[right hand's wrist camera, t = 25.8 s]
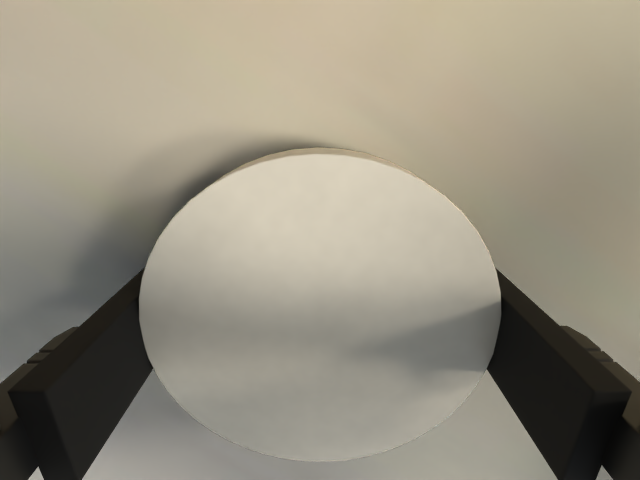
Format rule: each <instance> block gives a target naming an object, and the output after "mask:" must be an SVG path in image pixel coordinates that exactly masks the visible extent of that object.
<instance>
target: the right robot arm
mask: <svg viewBox="0 0 640 480" xmlns="http://www.w3.org/2000/svg"><path fill="white" fill-rule="evenodd" d="M495 269H496V268H495ZM144 270H145V268H144V269H143V270H142V271H140V272H139V273H138V274H137V275H136V276H135V277H134V278H133V279H132V280H130V281H129V282H128V283H127V284H126V285H125V286H124V287H123V288H122V289H120V290H119V291H118V292H117V293H116V294H115V295H114V296H113V297H112V298H110V299H109V300H108V301H107V302H106V303H105V304H104V305H103V306H102V307H101V308H99V309H98V310H97V311H96V312H95V313H94V314H93V315H92V316H91V317H89V318H88V319H87V320H86V321H85V322H84V323H83V324H82V325H81V326H79V327H72V328H71V329H69V330H67V331H65V332H63V333H62V334H60V335H58V336H56V337H54V338H53V339H52V340H51V341H50V342H48V343H47V344H46V345H45V346H44V347H43V348H41V349H40V350H39V353H36V354H34V355H33V356H32V357H31V358H30V359H29V360H27V363H26V364H23V365H22V366H20V367H19V368H18V369H17V370H16V371H15V372H13V373H12V374H11V375H10V376H9V377H8V378H6V379H5V380H4V381H3V382H2V383H1V384H0V480H28V479H29V477H30V476H31V475H32V474H33V472H34V471H35V470H36V468H37V467H38V466H39V469H40V471H41V473H42V476H43V478H44V480H82V478H83V477H84V475H85V474H86V472H87V470H88V469H89V467H90V466H91V464H92V463H93V461H94V460H95V458H96V456H97V455H98V453H99V452H100V450H101V449H102V447H103V446H104V444H105V442H106V441H107V439H108V438H109V436H110V435H111V433H112V432H113V430H114V428H115V427H116V425H117V424H118V422H119V421H120V419H121V418H122V416H123V415H124V413H125V411H126V410H127V408H128V407H129V405H130V404H131V402H132V401H133V399H134V397H135V396H136V394H137V393H138V391H139V390H140V388H141V387H142V385H143V383H144V382H145V380H146V379H147V377H148V376H149V374H150V373H151V371H152V369H153V366H152V364H151V362H150V360H149V358H148V355H147V352H146V349H145V345H144V341H143V336H142V332H141V327H140V322H139V295H140V288H141V281H142V276H143V273H144ZM496 272H497V277H498V282H499V287H500V292H501V320H500V326H499V331H498V335H497V340H496V344H495V348H494V352H493V355H492V358H491V360H490V362H489V364H488V367H487V370H488V371H489V373H490V375H491V376H492V378H493V379H494V381H495V382H496V384H497V385H498V387H499V389H500V390H501V392H502V393H503V395H504V396H505V398H506V399H507V401H508V403H509V404H510V406H511V407H512V409H513V410H514V412H515V413H516V415H517V416H518V418H519V420H520V421H521V423H522V424H523V426H524V427H525V429H526V430H527V432H528V434H529V435H530V437H531V438H532V440H533V441H534V443H535V444H536V446H537V448H538V449H539V451H540V452H541V454H542V455H543V457H544V458H545V460H546V462H547V463H548V465H549V466H550V468H551V469H552V471H553V472H554V474H555V476H556V477H557V479H558V480H596V477H597V475H598V473H599V470H600V468H601V465H602V466H603V467H604V468H605V469H606V471H607V472H608V473H609V474H610V476H611V477H612V478H613V479H614V480H640V382H639V381H638V380H637V379H635V378H634V377H633V376H632V375H631V374H630V373H628V372H627V371H626V370H625V369H624V368H622V367H621V366H620V365H619V364H618V363H617V362H613V359H612V358H611V357H610V356H608V355H607V354H606V353H605V352H604V351H601V349H600V348H599V347H598V346H597V345H595V344H594V343H593V342H592V341H591V340H590V339H588V338H587V337H586V336H584V335H583V334H581V333H579V332H577V331H575V330H573V329H572V328H570V327H568V326H559V325H558V324H557V323H556V322H555V321H554V320H553V319H551V318H550V317H549V316H548V315H547V314H546V313H545V312H544V311H543V310H541V309H540V308H539V307H538V306H537V305H536V304H535V303H534V302H533V301H531V300H530V299H529V298H528V297H527V296H526V295H525V294H524V293H523V292H521V291H520V290H519V289H518V288H517V287H516V286H515V285H514V284H513V283H511V282H510V281H509V280H508V279H507V278H506V277H505V276H504V275H503V274H502V273H500V272H499V271H498V270H497V269H496Z"/></svg>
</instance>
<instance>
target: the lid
mask: <svg viewBox="0 0 640 480" xmlns="http://www.w3.org/2000/svg"><path fill="white" fill-rule="evenodd" d="M500 320H501V292H500V287H499V282H498V277H497V272H496V269H495V266H494V264H493V261H492V258H491V255H490V253H489V250H488V249H487V247H486V245H485V243H484V241H483V240H482V238H481V236H480V234H479V233H478V231H477V230H476V228H475V227H474V226H473V225H472V223H471V222H470V221H469V219H468V218H467V217H466V216H465V214H464V213H463V212H462V211H461V210H460V209H459V208H458V207H457V206H456V205H454V204H453V203H452V202H451V201H450V200H449V199H448V198H447V197H446V196H445V195H443V194H442V193H441V192H439V191H438V190H436V189H435V188H433V187H432V186H430V185H429V184H427V183H426V182H424V181H423V180H422V179H420V178H419V177H417V176H416V175H414V174H413V173H411V172H410V171H408V170H406V169H404V168H402V167H400V166H398V165H396V164H394V163H392V162H390V161H388V160H385V159H382V158H379V157H376V156H373V155H370V154H367V153H363V152H357V151H352V150H346V149H341V148H320V147H315V148H303V149H292V150H287V151H283V152H279V153H274V154H270V155H266V156H264V157H261V158H258V159H256V160H253V161H250V162H248V163H245V164H244V165H242V166H240V167H238V168H236V169H234V170H233V171H231V172H229V173H227V174H225V175H224V176H222V177H221V178H219V179H218V180H216V181H215V182H214V183H212V184H211V185H209V186H208V187H207V188H205V189H204V190H203V191H201V192H200V193H199V194H197V195H196V196H195V197H193V198H192V199H191V200H189V201H188V203H187V204H186V205H185V206H184V207H183V208H182V209H181V210H180V211H179V212H178V213H177V214H176V215H175V216H174V217H173V218H172V219H171V221H170V222H169V223H168V225H167V226H166V228H165V229H164V230H163V232H162V233H161V234H160V236H159V237H158V239H157V241H156V243H155V245H154V247H153V249H152V251H151V253H150V255H149V257H148V261H147V264H146V267H145V270H144V273H143V276H142V281H141V288H140V295H139V322H140V327H141V332H142V336H143V341H144V345H145V349H146V352H147V355H148V358H149V360H150V362H151V364H152V366H153V368H154V370H155V373H156V375H157V376H158V378H159V379H160V381H161V382H162V384H163V385H164V387H165V388H166V390H167V391H168V393H169V394H170V395H171V396H172V397H173V398H174V400H175V401H176V402H177V403H178V404H179V405H180V406H181V407H182V408H183V409H184V410H185V411H186V412H187V413H188V414H189V415H190V416H192V417H193V418H194V419H195V420H196V421H198V422H199V423H200V424H202V425H203V426H205V427H206V428H207V429H209V430H210V431H212V432H213V433H215V434H217V435H219V436H221V437H222V438H224V439H226V440H228V441H230V442H232V443H234V444H237V445H239V446H241V447H244V448H246V449H249V450H252V451H255V452H258V453H261V454H264V455H269V456H273V457H278V458H282V459H289V460H297V461H309V462H330V461H344V460H351V459H357V458H363V457H367V456H371V455H375V454H379V453H382V452H385V451H388V450H391V449H394V448H396V447H399V446H401V445H403V444H406V443H408V442H410V441H412V440H414V439H416V438H418V437H420V436H421V435H423V434H425V433H426V432H428V431H430V430H431V429H433V428H434V427H436V426H437V425H438V424H440V423H441V422H442V421H443V420H445V419H446V418H447V417H449V416H450V415H451V414H452V413H453V412H454V411H455V410H456V409H457V408H458V407H459V406H460V405H461V404H462V403H463V402H464V401H465V400H466V398H467V397H468V396H469V395H470V394H471V392H472V391H473V390H474V389H475V387H476V386H477V384H478V382H479V381H480V379H481V378H482V376H483V374H484V373H485V371H486V369H487V367H488V364H489V362H490V360H491V358H492V355H493V352H494V348H495V344H496V340H497V335H498V331H499V326H500Z"/></svg>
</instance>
